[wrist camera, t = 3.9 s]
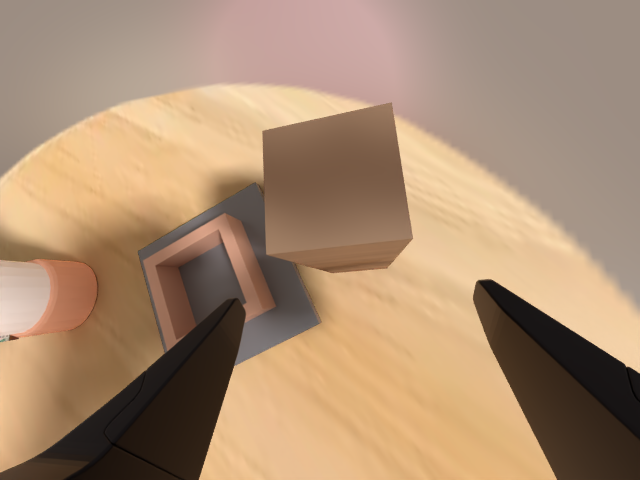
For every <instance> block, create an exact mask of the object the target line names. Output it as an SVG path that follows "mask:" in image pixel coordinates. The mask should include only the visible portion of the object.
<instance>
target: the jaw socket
mask: <svg viewBox="0 0 640 480" xmlns="http://www.w3.org/2000/svg"><path fill="white" fill-rule="evenodd" d="M138 255H139V258H140V262H141V266H142V269H143V273H144V277H145V281H146V284H147V288H148V292H149V296H150V299H151V303H152V307H153V310H154V314H155V318H156V322H157V325H158V329H159V333H160V337H161V340H162V344H163V348H164V351H165V353H166V352H167V351H168V350H169V349H171V348H172V347H173V346H174V345H175V344H176V343H177V342H179V341H180V340H181V339H182V338H183V337H184V336H185V335H187V334H188V333H189V332H190V331H191V330H192V329H193V328H195V327H196V326H197V325H198V324H199V323H200V322H201V321H203V320H204V319H205V318H206V317H207V316H208V315H209V314H211V313H212V312H213V311H214V310H215V309H216V308H217V307H219V306H220V305H221V304H222V303H223V302H224V301H225V300H227V299H228V298H238V299H239V300H240V302H241V303H242V305H243V307H244V309H245V311H246V318H245V323H244V328H243V333H242V338H241V343H240V347H239V351H238V355H237V358H236V361H235V365H237V364H239V363H241V362H243V361H245V360H247V359H249V358H251V357H253V356H255V355H257V354H259V353H261V352H263V351H265V350H267V349H269V348H271V347H273V346H275V345H277V344H279V343H282V342H284V341H286V340H288V339H290V338H292V337H294V336H296V335H298V334H300V333H302V332H304V331H306V330H308V329H310V328H312V327H314V326H316V325H318V324H320V323H321V320H320V318H319V315H318V313H317V311H316V309H315V307H314V305H313V302H312V300H311V298H310V296H309V294H308V291H307V289H306V287H305V285H304V283H303V280H302V278H301V276H300V274H299V272H298V270H297V267H296V265H295V263H294V262H291V261H287V260H284V259H280V258H276V257H273V256H269V255H266V232H265V198H264V195H263V193H262V191H261V189H260V187H259V185H258V184H257V183H253V184H252V185H250V186H248V187H246V188H245V189H243V190H241V191H240V192H238V193H236V194H235V195H233V196H231V197H229V198H228V199H226V200H224V201H223V202H221V203H219V204H218V205H216V206H214V207H212V208H211V209H209V210H207V211H206V212H204V213H202V214H201V215H199V216H197V217H195V218H194V219H192V220H190V221H189V222H187V223H185V224H184V225H182V226H180V227H178V228H177V229H175V230H173V231H172V232H170V233H168V234H167V235H165V236H163V237H161V238H160V239H158V240H156V241H155V242H153V243H151V244H150V245H148V246H146V247H144V248H143V249H141V250H139V251H138ZM235 365H234V366H235Z"/></svg>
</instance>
